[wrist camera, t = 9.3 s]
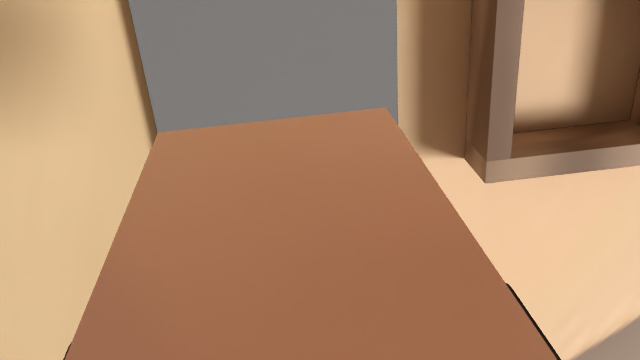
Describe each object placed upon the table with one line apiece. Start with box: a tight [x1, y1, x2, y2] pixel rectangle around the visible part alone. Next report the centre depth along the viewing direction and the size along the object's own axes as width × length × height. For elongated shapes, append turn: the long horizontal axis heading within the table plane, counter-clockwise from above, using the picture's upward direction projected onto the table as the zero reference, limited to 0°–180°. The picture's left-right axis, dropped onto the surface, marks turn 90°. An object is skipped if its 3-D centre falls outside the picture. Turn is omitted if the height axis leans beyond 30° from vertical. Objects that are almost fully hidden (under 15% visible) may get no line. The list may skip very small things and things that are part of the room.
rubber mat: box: [128, 0, 398, 133], centre depth 27 cm, size 12×12×1 cm
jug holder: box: [465, 0, 640, 183], centre depth 27 cm, size 10×10×3 cm
